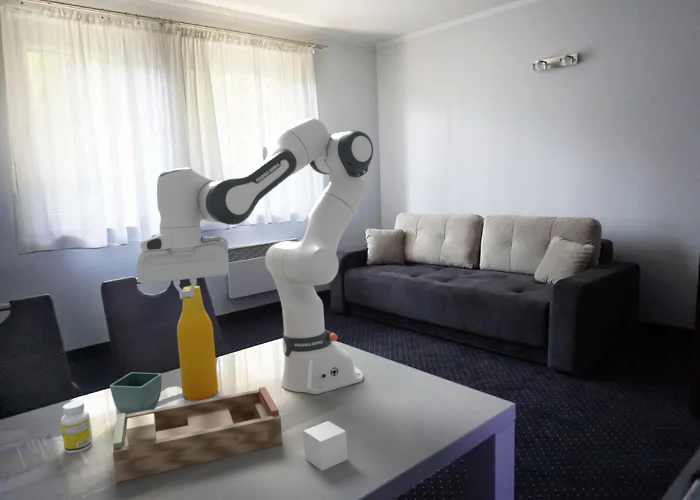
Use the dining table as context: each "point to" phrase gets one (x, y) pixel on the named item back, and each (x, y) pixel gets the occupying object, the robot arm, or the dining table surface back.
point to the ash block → (141, 429)
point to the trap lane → (198, 433)
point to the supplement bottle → (76, 427)
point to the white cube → (325, 445)
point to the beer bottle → (196, 349)
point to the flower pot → (136, 392)
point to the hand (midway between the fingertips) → (186, 298)
